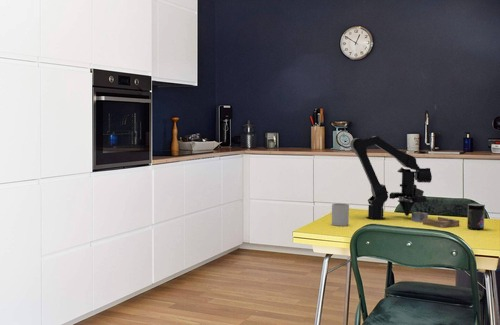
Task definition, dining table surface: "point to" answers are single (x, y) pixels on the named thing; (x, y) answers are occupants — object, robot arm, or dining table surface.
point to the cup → (340, 214)
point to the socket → (419, 216)
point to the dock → (441, 222)
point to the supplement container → (475, 216)
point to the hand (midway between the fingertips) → (407, 215)
